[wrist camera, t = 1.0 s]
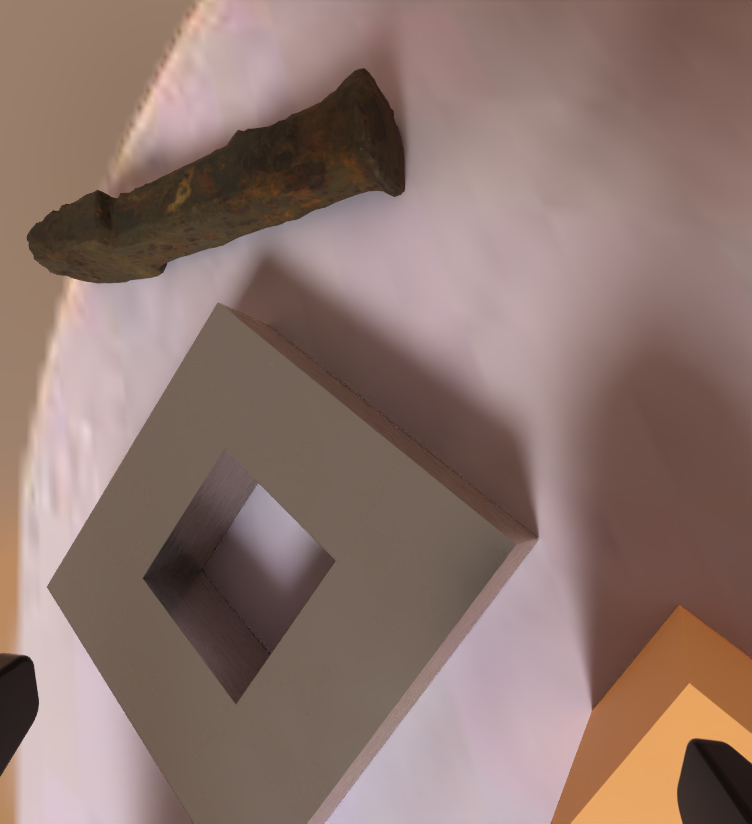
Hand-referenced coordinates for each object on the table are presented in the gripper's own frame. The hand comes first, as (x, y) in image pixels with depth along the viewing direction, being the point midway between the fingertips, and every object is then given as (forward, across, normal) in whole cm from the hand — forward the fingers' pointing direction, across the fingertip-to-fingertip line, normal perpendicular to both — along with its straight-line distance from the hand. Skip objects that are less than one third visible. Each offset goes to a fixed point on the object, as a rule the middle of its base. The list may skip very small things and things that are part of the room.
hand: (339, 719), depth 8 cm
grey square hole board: (+13, +4, +6) cm, 15 cm away
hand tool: (+20, +9, -7) cm, 23 cm away
